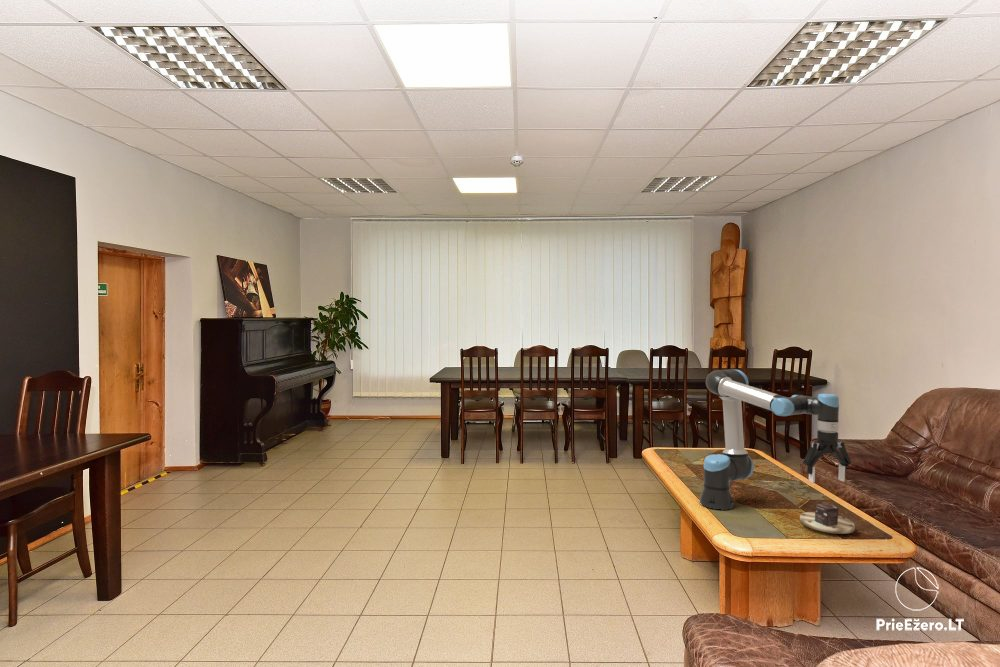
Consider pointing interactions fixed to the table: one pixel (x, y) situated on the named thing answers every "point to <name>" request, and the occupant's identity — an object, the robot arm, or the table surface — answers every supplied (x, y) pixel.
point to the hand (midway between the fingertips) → (826, 481)
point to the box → (826, 514)
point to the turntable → (841, 528)
